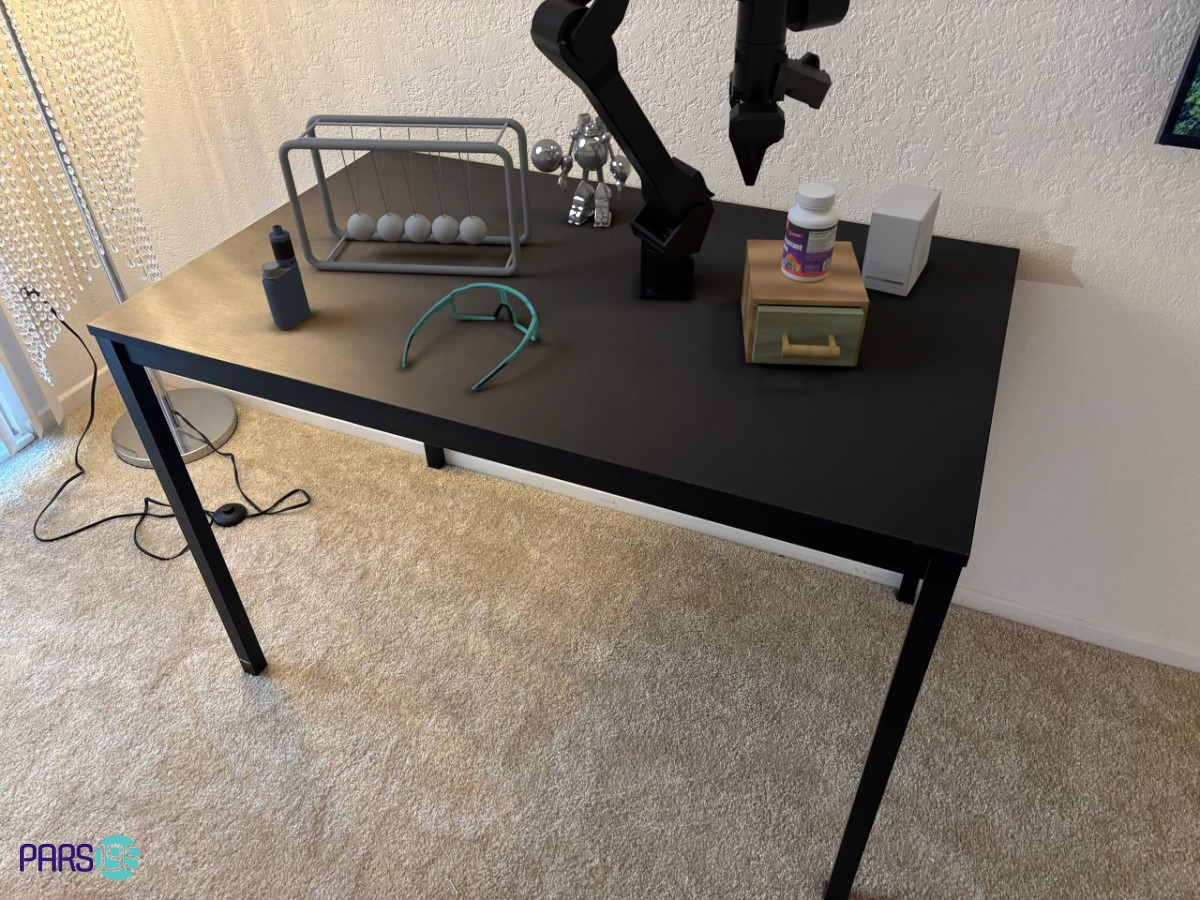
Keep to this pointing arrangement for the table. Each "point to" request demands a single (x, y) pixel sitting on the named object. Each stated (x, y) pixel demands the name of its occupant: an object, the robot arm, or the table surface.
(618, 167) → the robot toy
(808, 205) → the pill bottle
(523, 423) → the table surface
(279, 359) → the table surface
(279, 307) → the vaping device
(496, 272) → the newton's cradle
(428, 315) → the sunglasses
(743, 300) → the cabinet
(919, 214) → the cosmetics box
